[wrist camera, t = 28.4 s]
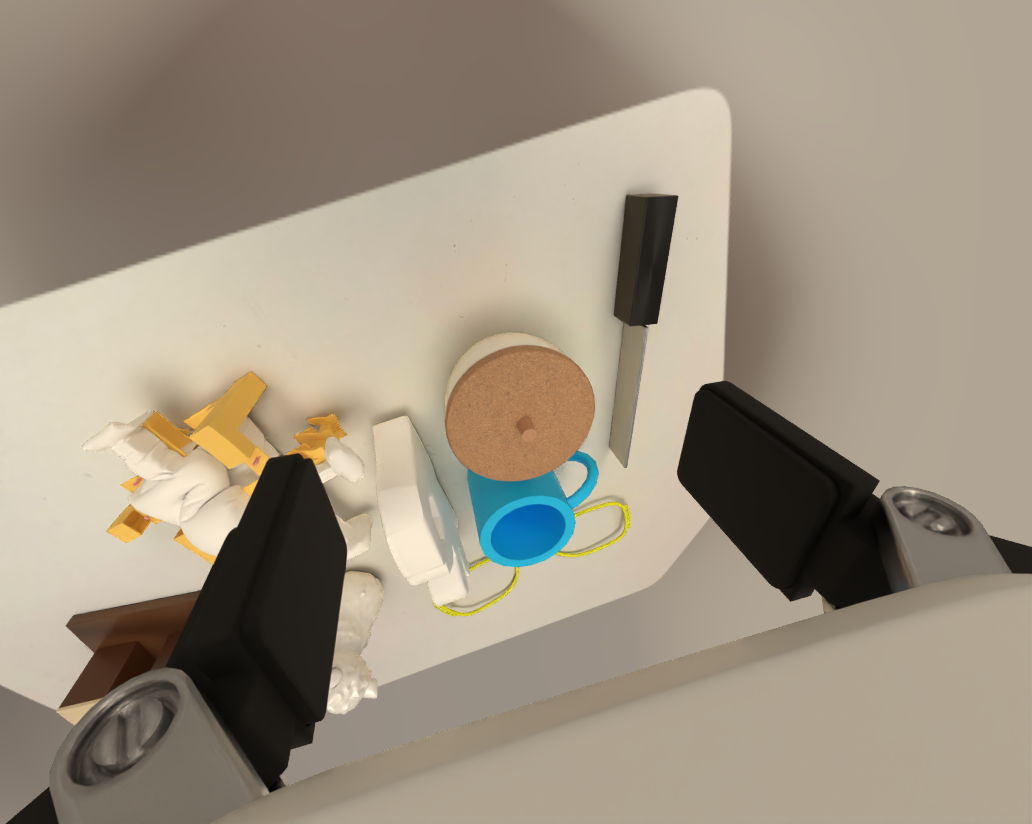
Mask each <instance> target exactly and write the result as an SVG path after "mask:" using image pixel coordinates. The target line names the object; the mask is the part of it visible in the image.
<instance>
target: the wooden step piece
mask: <svg viewBox="0 0 1032 824" xmlns="http://www.w3.org/2000/svg"><path fill="white" fill-rule="evenodd" d="M155 661H156V660H155V659H154V658H153V657H152V655H151V654H150V653H149V652H148V651H147V650H146V649H145V648H144V647H143V646H142V645H141V644H140V643H139V641H134V642H129V643H125V644H120V645H115V646H110V647H106V648H101V649H97V650H96V652H95V653H94V655H93V656H92V658H91V660H90V661H89V663H88V664H87V666H86V667H85V669H84V670H83V672H82V673H81V675H80V676H79V678H78V679H77V681H76V682H75V684H74V686H73V687H72V689H71V690H70V692H69V693H68V695H67V696H66V698H65V699H64V701H63V702H62V704H61V705H60V707H59V708H58V710H57V711H56V712H57V713H58V714H60V715H61V716H62V717H64V718H65V719H66V720H68V721H69V722H71V723H72V724H73V725H74V726H75V725H76V724H77V723H78V721H79V720H80V719H81V718H82V717H83V716H84V715H85V714H86V713H87V712H88V710H89V709H90V708H92V707H93V706H94V705H95V704H96V703H97V702H99V701H100V700H101V699H102V698H103V697H105V696H106V695H107V694H108V693H109V692H111V691H112V690H114V689H115V688H117V687H119V686H120V685H122V684H123V683H125V682H127V681H128V680H130V679H132V678H134V677H136V676H139V675H141V674H143V673H146V672H148V671H151V669H152V667H153V665H154V663H155Z"/></svg>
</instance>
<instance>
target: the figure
mask: <svg viewBox="0 0 1032 824" xmlns="http://www.w3.org/2000/svg"><path fill="white" fill-rule="evenodd" d="M266 387H267V385H266V384H265V383H263V382H262V381H261V380H260V379H259V378H258V377H257V376H256V375H255V374H254V373H253V372H249V373H248V374H246V375H245V376H243V377H242V378H240V379H238V380H237V381H235V383H234V384H233V385H232V386H231V387H230V389H229V390H228V391H227V392H226V393H225V395H224V396H222V397H221V398H219V399H218V400H216V401H214V402H213V403H211V404H210V405H208V406H207V407H205V408H203V409H202V410H200V411H199V412H197V413H196V414H194V415H192V416H191V417H189V418H188V419H186V420H185V421H184V422H185V423H186V424H188V425H189V426H190V427H192V428H193V429H194V430H195V431H194V432H193V433H192V434H191V435H190V436H189V437H187V436H186V435H185V434H187V433H189V430H186V431H185V430H184V429H181V430H180V428H177V427H175V426H174V425H173V424H172V423H170V422H169V421H168V420H167V419H166V418H164V417H163V416H162V415H161V414H160V413H158V412H157V411H156V412H155V413H154V410H150V411H148V412H146V413H145V414H143V415H142V416H140V417H138V418H137V419H135V420H134V421H132V422H130V423H129V424H127V425H126V424H123V423H119V422H110V423H109V424H108V425H107V426H106V427H105V428H104V429H103V430H101V431H100V432H99V433H98V434H96V435H95V436H93V437H92V438H90V439H89V440H87V441H86V442H85V443H84V444H83V445H82V447H83V449H84V450H85V451H103V450H106V449H108V448H111V450H112V451H113V452H114V453H116V454H117V455H118V456H119V457H121V458H126V467H127V468H128V469H129V470H130V471H132V472H133V473H135V474H136V475H138V476H136V477H134V478H132V479H130V480H128V481H126V482H125V483H123V484H121V486H123V487H124V488H126V489H127V490H129V491H130V492H132V494H131V495H130V496H129V497H128V501H129V503H130V505H129V506H128V507H127V508H125V509H124V511H123V512H122V513H121V514H120V515H119V517H118V518H117V519H116V520H115V521H114V522H113V524H112V525H111V526H110V527H109V528H108V530H107V532H108V533H110V534H112V535H113V536H115V537H117V538H118V539H120V540H122V541H123V542H125V543H127V542H129V541H131V540H133V539H135V538H137V537H139V536H141V535H142V533H143V532H144V531H145V529H146V528H147V527H148V525H149V524H150V523H151V521H152V522H153V523H155V524H157V523H159V522H161V521H165V522H168V523H171V524H174V525H176V526H178V527H181V528H180V530H179V532H178V533H177V535H176V536H175V538H174V540H175V541H177V542H178V543H180V544H181V545H183V546H185V547H186V548H188V549H189V550H191V551H192V552H194V553H195V554H197V555H198V556H200V557H202V558H203V559H205V560H206V561H208V562H209V563H211V564H212V565H213V564H214V562H215V560H216V557H217V555H218V553H219V551H220V549H221V547H222V545H223V542H224V540H225V538H226V537H227V535H228V533H229V532H230V531H231V530H232V529H234V528H235V527H237V526H238V524H239V522H240V520H241V517H242V515H243V513H244V511H245V508H246V506H247V504H248V502H249V500H250V497H251V495H252V493H253V491H254V488H255V486H256V484H257V482H258V480H259V477H260V475H261V473H262V471H263V468H264V466H265V464H266V462H267V460H268V459H269V458H272V457H278V456H280V455H279V454H278V452H277V451H276V450H275V449H274V448H273V447H272V445H271V444H270V443H269V442H267V441H266V438H267V437H266V438H264V435H263V434H262V432H261V431H260V430H259V429H258V428H257V427H256V426H255V425H254V423H253V422H252V421H251V419H250V418H249V417H247V415H248V414H249V412H250V411H251V409H252V408H253V406H254V405H255V403H256V402H257V400H258V399H259V397H260V396H261V394H262V393H263V391H264V390H265V388H266ZM337 419H338V418H337V416H336V415H335V414H334V413H333V414H331V415H329V416H327V417H317V418H307V420H308V421H309V422H310V423H311V424H312V425H321V426H320V429H319V432H318V433H317V432H316V431H315V429H314V428H313V427H310V428H308V429H307V430H305V431H303V432H301V433H299V434H297V435H295V436H294V438H295V439H296V440H297V441H298V442H299V443H300V444H301V446H299V447H297V448H296V449H294V450H292V451H290V452H288V453H286V455H290V454H296V453H299V454H301V455H302V456H303V458H304V459H306V458H311V459H312V460H313V462H314V464H315V466H316V469H317V471H318V474H319V476H320V479H321V481H322V484H323V483H325V482H327V481H329V480H331V479H333V478H335V477H336V476H337V475H341V476H342V477H343V478H344V479H346V480H348V481H349V482H351V483H355V482H357V481H358V480H360V479H362V478H363V477H364V473H365V466H364V463H363V461H362V460H361V458H360V457H359V456H358V455H357V454H356V453H355V452H354V451H353V450H352V449H351V448H349V447H348V446H346V445H344V444H342V443H341V442H340V441H339V439H341V438H342V437H344V436H346V435H347V434H346V433H345V432H344V430H343V429H342V428H341V426H340V424H339V422H338V420H337ZM337 423H338V424H337ZM141 425H143V426H141ZM338 425H339V426H338ZM336 426H337V427H336ZM339 427H340V428H339ZM337 428H338V429H337ZM335 429H336V430H335ZM335 516H336V518H337V521H338V523H339V526H340V528H341V531H342V533H343V536H344V538H345V541H346V545H347V561H348V560H350V559H352V558H354V557H356V556H358V555H359V554H361V553H363V552H365V551H366V550H368V549H369V546H370V539H371V528H372V519H371V517H369V516H368V515H366V514H361V515H359V516H356V517H353V518H351V519H349V520H347V521H345V522H344V521H343V520H342V519H341V518H340V517H338V516H337V515H336V514H335ZM144 518H145V519H144Z"/></svg>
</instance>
